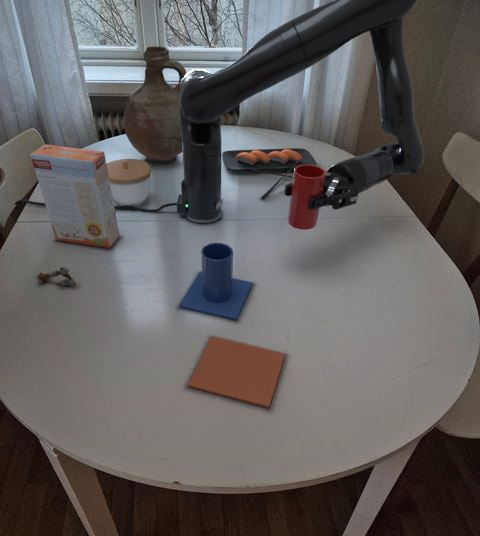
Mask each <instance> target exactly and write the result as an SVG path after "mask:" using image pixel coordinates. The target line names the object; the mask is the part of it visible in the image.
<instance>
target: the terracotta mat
mask: <svg viewBox="0 0 480 536" xmlns="http://www.w3.org/2000/svg"><path fill="white" fill-rule="evenodd" d="M285 356H286V353H283V352H279V351H275V350H272V349H271V350H270V349H268V348H267V349H266V348H262V347H258V346H255V345H251V344H246V343H242V342H238V341H233V340H229V339H226V338H221V337H217V336H213V335H212V336H211V337H210V339H209V341H208V343H207V345H206V346H205V349H204V351H203V353H202V355H201V357H200V359H199V362H198V363H197V366H196V368H195V369H194V372H193V374H192V376H191V378H190V380H189V382H188V384H187V387H188V388H190V389H193V390H199V391H203V392H205V393H210V394H212V395H213V394H214V395H216V396H221V397H224V398H228V399H233V400H236V401H240V402H243V403H246V404H250V405H254V406H258V407H262V408H265V409H270V407H271V403H272V401H273V396H274V394H275V390H276V387H277V383H278V380H279V376H280V373H281V370H282V366H283V363H284V360H285Z"/></svg>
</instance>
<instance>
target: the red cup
mask: <svg viewBox="0 0 480 536" xmlns="http://www.w3.org/2000/svg"><path fill="white" fill-rule="evenodd" d="M326 172H327V171H326V170H325V169H324V168H323V167H321V166H318V165H316V166H315V165H299V166H297V167H295V169H293V174H292V176H293V178H292V182H291V183H292V189H291V195H290V196H289V206H288V214H287V223H288V225H289V226H290V227H293V228H294V229H296V230H297V229H298V230H305V231H306V230H312V229H314V228H316V226H317V224H318V219H319V213H320V208H318V209H313V210H310V209H308V204H309V200H310V199H311V198H313V197H316V196H318V195H321V194H322V192H323V186H324V180H325V175H326Z"/></svg>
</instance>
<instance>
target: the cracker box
mask: <svg viewBox="0 0 480 536" xmlns="http://www.w3.org/2000/svg"><path fill="white" fill-rule="evenodd" d="M29 155H30V158H31V161H32V166H33V168H34V171H35V176H36V178H37V181H38V185H39V188H40V191H41V195H42V197H43V201H44V202H43V203H45V205H46V206H45V208H46V211H47V215H48V219H49V223H50V225H51V228H52V232H53V236H54V238H55V240H56V241H60V242H61V241H62V242H68V243H74V244H79V245H87V246H93V247H99V248H106V249H111V248H112V246H113V245H115V243H116V241H118V239H119V238H120V230H119V225H118V219H117V213H116V209H115V208H114V206H115V202H114V200H113V197H112V192H111V186H110V181H109V175H108V170H107V165H106V164H107V160H106V154H105V151H102V150H93V149H87V148H86V149H84V148H78V147H77V148H76V147H70V146H61V145H53V144H47V143H46V144H43V145H41V146H40V147H39V148H37V149H36V150H34V151H33V152H31V153H29Z"/></svg>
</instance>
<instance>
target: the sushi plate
mask: <svg viewBox="0 0 480 536" xmlns="http://www.w3.org/2000/svg"><path fill="white" fill-rule="evenodd" d="M221 159H222V160H223V163H224V166H225V168H226V169H227V170H229V171H233V172H260V173H266V174H269V175H275V176H279V177H280V179H278V180H277V181H276V182H275V183H274V184H273V185H272V186H271V187H270V188H269V189H268V190H267V191H266V192H265V193H264V194H263V195H262V196H261V200H264V199H265V198H266V197H267V196H268V195H269V194H270V193H271V192H272V191H273V190H274V189H275V188H276V187H277V186H278V185H279V184H280V183H281V181H283V179H284V178H288V179H289V178H290V179H293V175H289V173H290V172H291V171H292V170H294V169H295V167H297V166H299V165H315V166H318V165H317V161H316V159H315V158H314V157H313V155H312V154H311V152H310V151H309V150H308V149H306V148H301V147H299V148H298V147H295V148H294V147H291V148H264V149H262V148H261V149H260V148H259V149H233V150H226V151H225V150H224V151H223V152H221ZM280 170H281V171H282V170H288V171H287V172H286V173H284V174H283V173H277V172H272V171H280Z"/></svg>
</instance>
